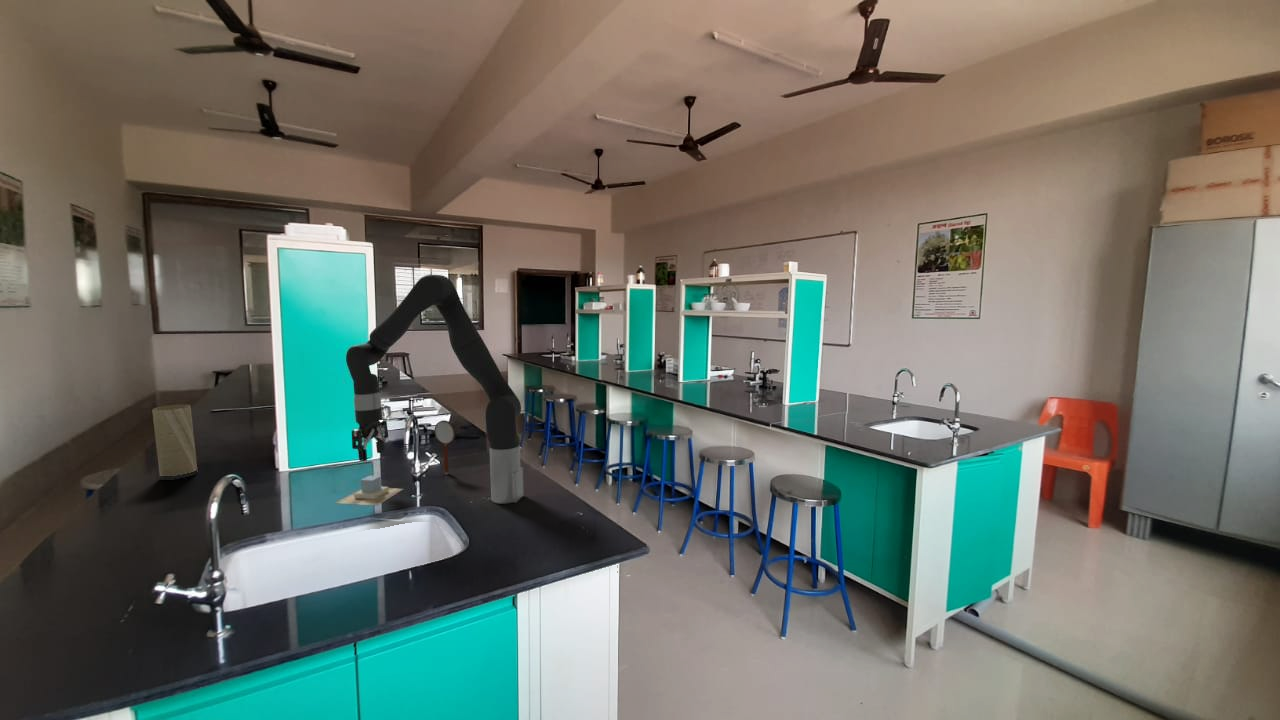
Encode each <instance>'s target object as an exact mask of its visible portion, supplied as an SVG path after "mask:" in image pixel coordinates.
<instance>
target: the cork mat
mask: <svg viewBox="0 0 1280 720" xmlns="http://www.w3.org/2000/svg"><path fill="white" fill-rule="evenodd" d="M388 488H389V491H388V492H387V493H385V494H383V495H381V496H380V497H378V498H376V499H375V500H374V499H358V498H354V493H356V492H358V491H360V490H362V488H360V489H359V490H356V491H355V492H353V493H351V494H349V495H347V496H346V497H344V498H342V499H340V500H338V501H336V502H335V504H341V505H342V504H343V505H359V506H372V507H373V506H375V507H377V506H379V505H380V504H382V503H384V502H385V501H387V500H388V499H390V498H392V497H393V496H395V495H397V494H399V492H401V491H403V490H404V488H395V487H394V488H393V487H388Z"/></svg>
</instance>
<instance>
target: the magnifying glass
mask: <svg viewBox="0 0 1280 720" xmlns="http://www.w3.org/2000/svg"><path fill="white" fill-rule="evenodd" d="M456 434H457V433H456V428H455V426H454V425H453V424H452V423H451V422H450V421H448V420H445V419H444V420H440V421H438V422H437V423H436V425H435V427H434V436H435V438H436V440H437V441H438V442H439V443H440V444H443V457H444V473H445V475H448V474H449V455H448V453H449V449H448V445H450V444H451V443H453V442H454V440H455V438H456Z"/></svg>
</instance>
